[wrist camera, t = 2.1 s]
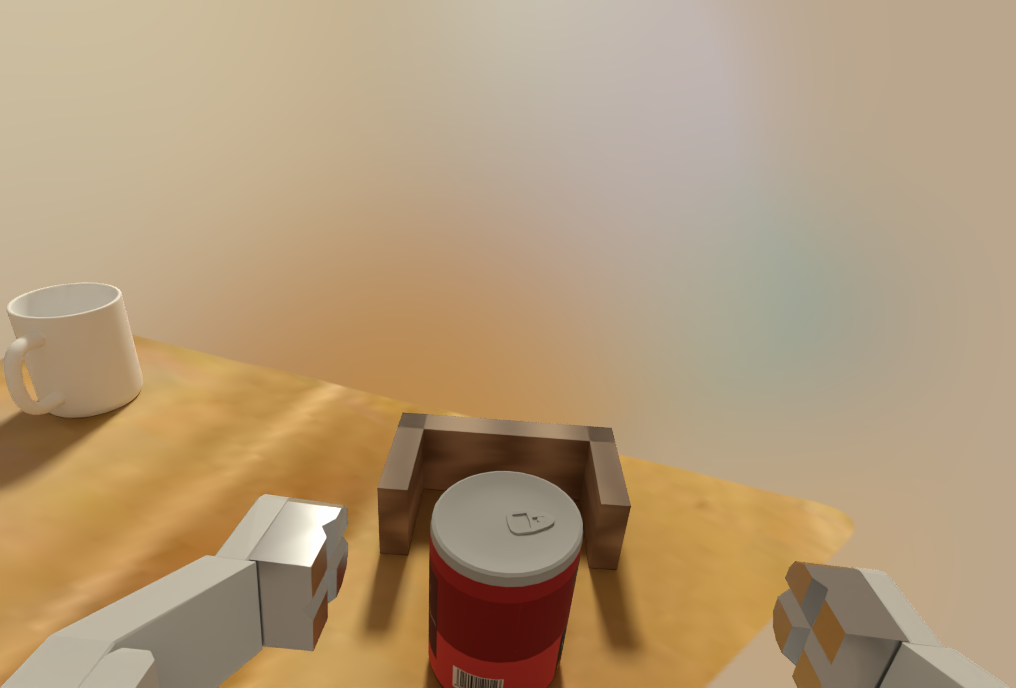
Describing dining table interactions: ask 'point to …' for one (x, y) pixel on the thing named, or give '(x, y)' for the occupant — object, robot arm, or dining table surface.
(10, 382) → the cup
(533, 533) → the canned food
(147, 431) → the dining table surface
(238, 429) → the dining table surface
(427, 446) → the corral
